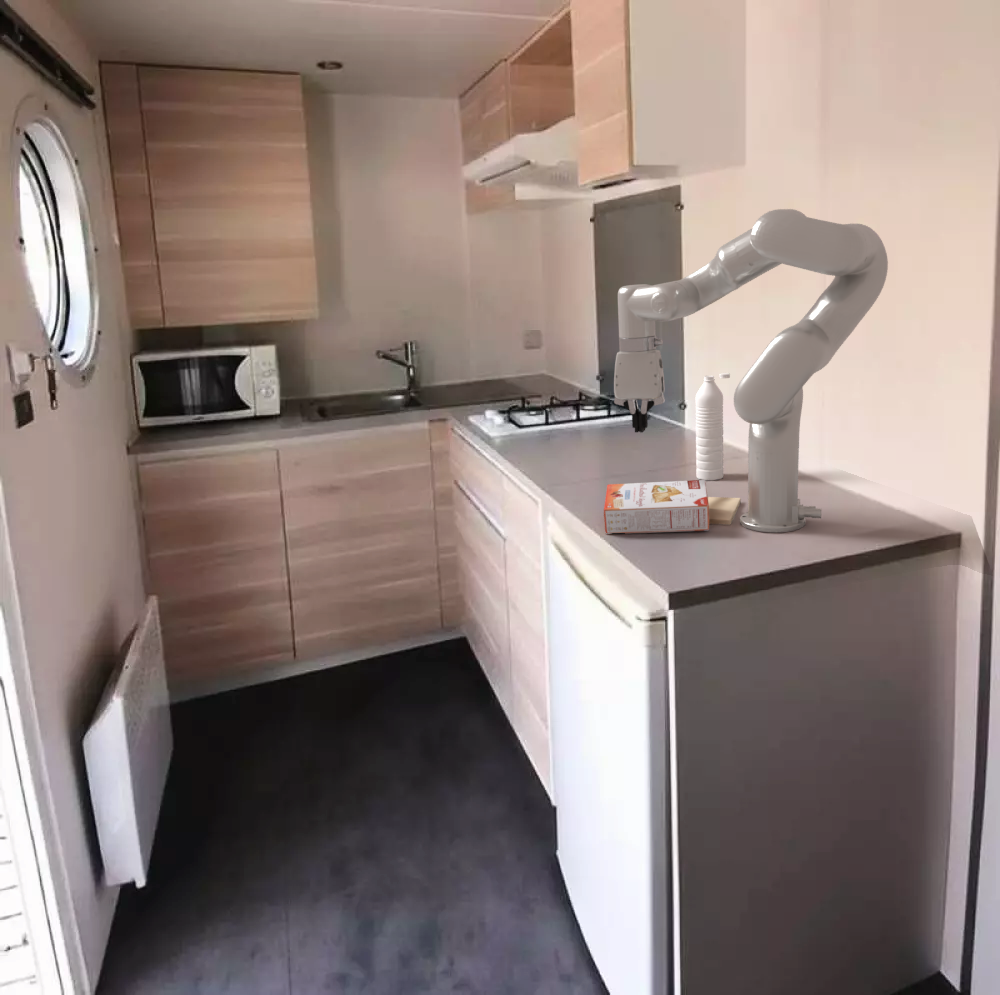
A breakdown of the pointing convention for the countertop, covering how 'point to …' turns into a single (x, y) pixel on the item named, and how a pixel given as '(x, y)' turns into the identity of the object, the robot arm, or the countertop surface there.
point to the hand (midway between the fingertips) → (640, 431)
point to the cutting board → (722, 509)
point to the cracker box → (656, 507)
